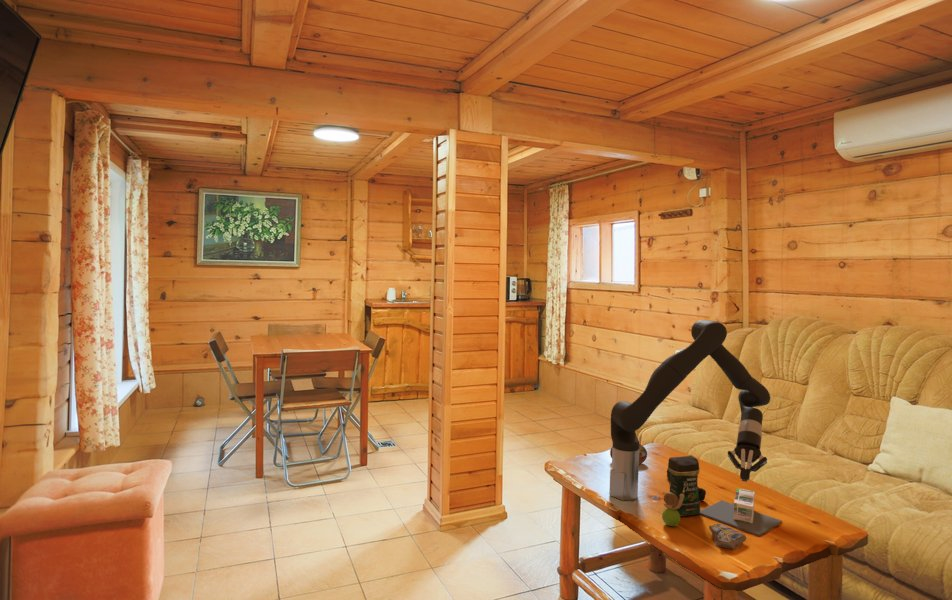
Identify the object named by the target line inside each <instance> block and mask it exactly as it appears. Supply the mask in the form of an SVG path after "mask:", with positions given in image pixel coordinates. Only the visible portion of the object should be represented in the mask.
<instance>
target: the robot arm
mask: <svg viewBox="0 0 952 600" xmlns="http://www.w3.org/2000/svg"><path fill="white" fill-rule="evenodd" d="M690 333H691V337H692V339H693V342H692V343H691V344H690V345H688V346H687V347H685V348H683V349H682V350H679V351H677V352H676V353H674V354H672V355H670V356H669V357H667V358H665V360H664V361H662V362H661V364H659V365H658V366H657V368H656V369H655V370H654V371H653V372H652V373H651V375H650V378H649V380H648V383H647V384H646V387H645V389H644V391H643V392H642V393H641V394H640V395H639V396H638V397H637V398H636V400H634V401H633V402H629V401H627V400H621V401H618V402H616V403H615V404H614V405H613V407H612V408H611V412H610V437H611V441H612V446H613V448H612V447H611V448H612V458H611V469H610V470H609V496H611V497H613V498H616V499H618V500H621V501H623V502H624V501H632V500H636V499H638V497H639V496H638V495H639V493H638V492H639V471H640V469H639V468H640V467H639V465H640V464H639V446H640V445H641V444H640V440H639V438H638V436H637V433H636V431H638V430H639V429H640V428H642V427H643V425H644V424H645V423H646V422H647V420H649V418H650V417H651V415H652V414H653V413H654V411H656V409H657V408H658V407H659V406H660V405H661V403H663V402H664V400H666V399H667V397H668V396H669V395H670V394H671V393H672V392H673V391H674V390H676V389H677V387H679V385H680V384H681V383H682V382H683V381H684V380H685V379H686V378H687V377H688V376H689V375H690V374H691V372H693V371H694V370H695V369H696V368H697V367H698V366H699V365H700V363H701V362H703V361H704V360H705V359H706V358H707V357H709V356H710V357H711V359H712V360H713V361H714V362H715V363H716V364H717V365H718V367H719V368H720V369H721V370H722V372H723V373H724V374H725V377H727V378H728V380H729V381H730V383H731V384H732V386H733V387H734V388H736V390H740V392H738V395H737V396H738V397H737V398H738V403H739V407H740V408H739V409H740V414H741V415H740V423H739V426H738V432H737V436H736V437H737V439H736V446H735V447H734V449H733V450H728V451H727V457H728V458H729V460H730V461H731V463H732V464H733V466H734V467H735V469H738V470H740V472H739V473H740V474H739V478H740V480H741V481H742V482H746V483H747V482H748V481H749V480H750V477H751V472H754V473H756V472H758V471H759V470H760V469H761V468H762V467H764V466H765V465H766V464H767V463H768V457H766V456H764V455H762V451H761V444H762V437H763V429H762V427H763V418H764V416H763V412H762V411H761V410H760V409H759V407H764V406H767V405H768V404H770V402H771V394H770V392H769V390H768V389H767V387H766V386H765V385H763V384H762V383H761V382H759V381H758V380H757V379H756V378H755V377H753V376H752V375H751V374H750V372H749V371H748V369H747V368H746V367H745V366H744V364H743V363H742V362H741V361H740V359H738V358H737V357H736V356H735V355H734V354H732V353H731V352H730V351H729V350H728V349H727V348H726V347H725V346H724V345H723V343H724V342H725V340H726V338H727V334H728V330H727V328H726V326H725V325H724V324H723V323H721V322H719V321H715V320H708V319H699V320H696V322H694V323H693V324H692V326H691V330H690ZM757 407H758V408H757ZM736 456H737V458H738V460H737V458H736ZM739 460H740V462H739ZM757 460H758V461H757ZM755 462H756V463H755ZM753 463H754V464H753Z"/></svg>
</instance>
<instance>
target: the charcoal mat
mask: <svg viewBox="0 0 952 600" xmlns="http://www.w3.org/2000/svg"><path fill="white" fill-rule="evenodd" d="M698 515H701V516H703V517H705V518H708V519H711V520H714V521H716V522H718V523H719V522H720V523H722V524H725V525H726V526H730V527H731V528H732V527H733V528H736V529H738V530H740V531H741V530H742V531H744V532H747V533H749V534H751V535H754V536H758V537H761V536H762V535H764V534H766V533H767V532H769V531H770V530H772V529H773V528H775V527H777V526H778V525H780V524H782V522H783V520H782V519H780V518H775V517H773V516H770V515H767V514H764V513H760V512H758V511H755V510H754V515H753V523H748V522H743V521H739V520H734V519H733V518H734V503H732V502H729V501H725V500H722V499H721V500H719V501H716V502H715V503H713V504H711V505H708V506H707V507H705V508H703V509H700V512H699V514H698Z"/></svg>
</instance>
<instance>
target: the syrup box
mask: <svg viewBox="0 0 952 600" xmlns="http://www.w3.org/2000/svg"><path fill="white" fill-rule="evenodd" d="M755 494H756V493H755V491H754V490H753V491H752V490H748V489H743V488H738V487H737V488H736V491H735V496H734V500H733V504H734V518H733V519H734V520H739V521H743V522H748V523H753V515H754V511H755V500H756V498H755V497H756V495H755Z"/></svg>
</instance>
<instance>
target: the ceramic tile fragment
mask: <svg viewBox="0 0 952 600" xmlns="http://www.w3.org/2000/svg"><path fill="white" fill-rule="evenodd" d="M708 528H709V531H710V532H711V533H712V536H713V542H714V544H715V546H716V547H721V548H724V549H730V550H732V551H733V550H734V551H735V550H737V549H738V548H739V546H741V545H742V544H743V543H745V542H746V541H747V536H746V534H744V533H743V532H741V531H738V530H736V529H733V528H732V527H729V526H728V525H723V523H722V524H721V523H719V522H718V523H714V524H712V525H709V526H708Z"/></svg>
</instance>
